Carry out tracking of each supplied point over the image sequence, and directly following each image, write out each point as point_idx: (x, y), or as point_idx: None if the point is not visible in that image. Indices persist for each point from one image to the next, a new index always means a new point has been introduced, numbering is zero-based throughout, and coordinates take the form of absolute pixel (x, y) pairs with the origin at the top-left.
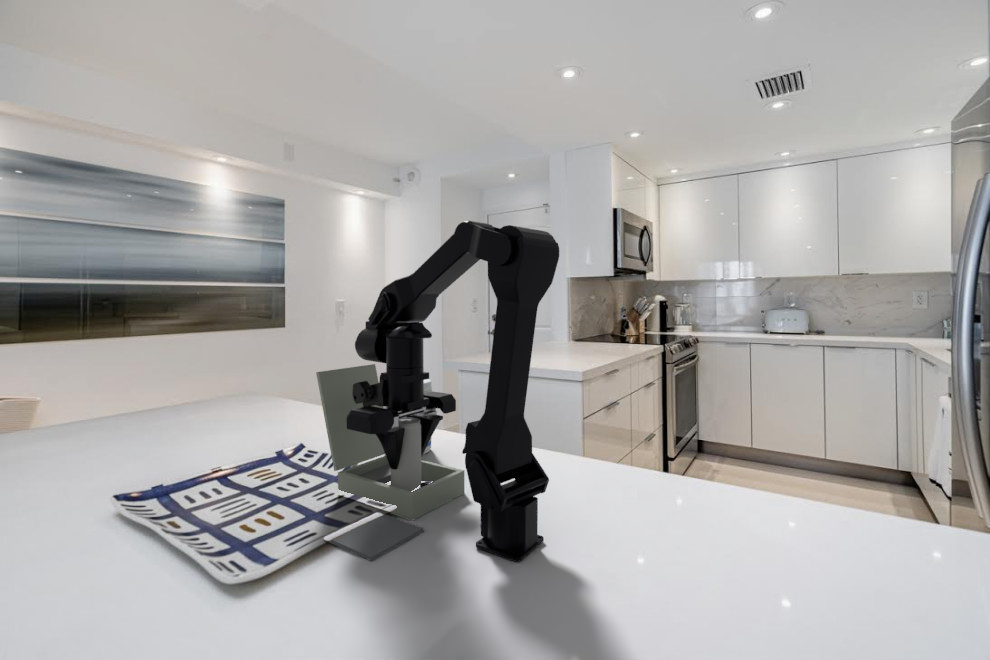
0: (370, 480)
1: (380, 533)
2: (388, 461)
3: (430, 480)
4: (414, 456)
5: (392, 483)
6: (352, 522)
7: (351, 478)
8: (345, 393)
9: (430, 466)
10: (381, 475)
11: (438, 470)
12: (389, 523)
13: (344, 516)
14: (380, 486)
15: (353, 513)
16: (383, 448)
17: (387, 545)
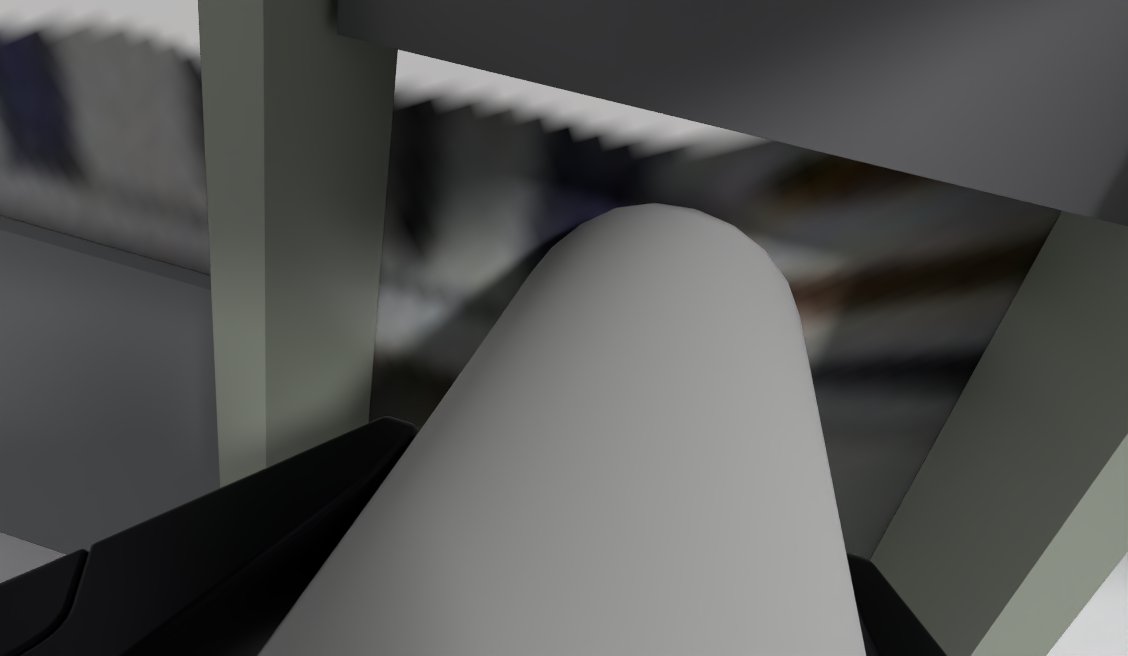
0: (243, 196)
1: (85, 459)
2: (307, 457)
3: (955, 462)
4: None
5: (499, 317)
6: (105, 196)
7: None
8: None
9: (1000, 573)
10: (689, 35)
11: (940, 637)
12: (188, 452)
13: (120, 73)
14: (224, 360)
15: (191, 107)
16: (76, 560)
17: (42, 533)
